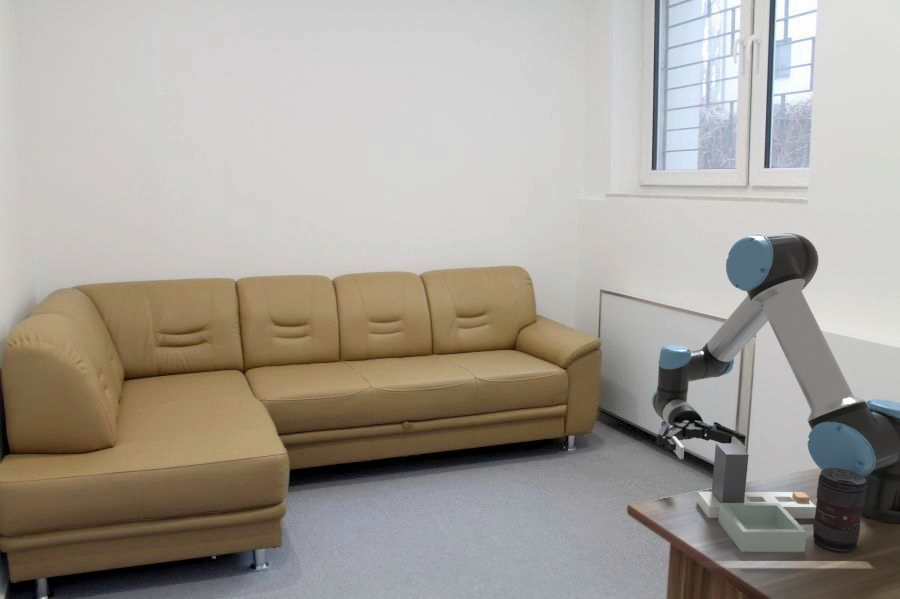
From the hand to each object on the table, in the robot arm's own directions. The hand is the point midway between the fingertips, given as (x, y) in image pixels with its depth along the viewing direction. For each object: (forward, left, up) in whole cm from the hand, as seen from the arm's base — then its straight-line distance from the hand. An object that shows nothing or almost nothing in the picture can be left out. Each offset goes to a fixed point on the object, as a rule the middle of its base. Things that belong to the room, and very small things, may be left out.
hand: (713, 453), depth 172 cm
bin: (-18, +10, -9) cm, 23 cm away
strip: (-11, +1, -9) cm, 15 cm away
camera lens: (-28, +1, -10) cm, 30 cm away
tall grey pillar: (-8, +6, -8) cm, 13 cm away
